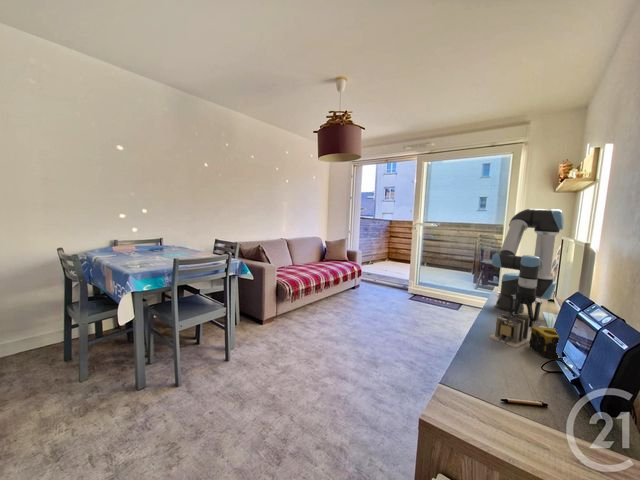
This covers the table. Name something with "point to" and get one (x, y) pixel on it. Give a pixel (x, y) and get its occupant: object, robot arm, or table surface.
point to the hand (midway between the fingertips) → (521, 330)
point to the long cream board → (509, 340)
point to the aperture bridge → (517, 325)
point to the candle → (544, 341)
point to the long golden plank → (508, 329)
